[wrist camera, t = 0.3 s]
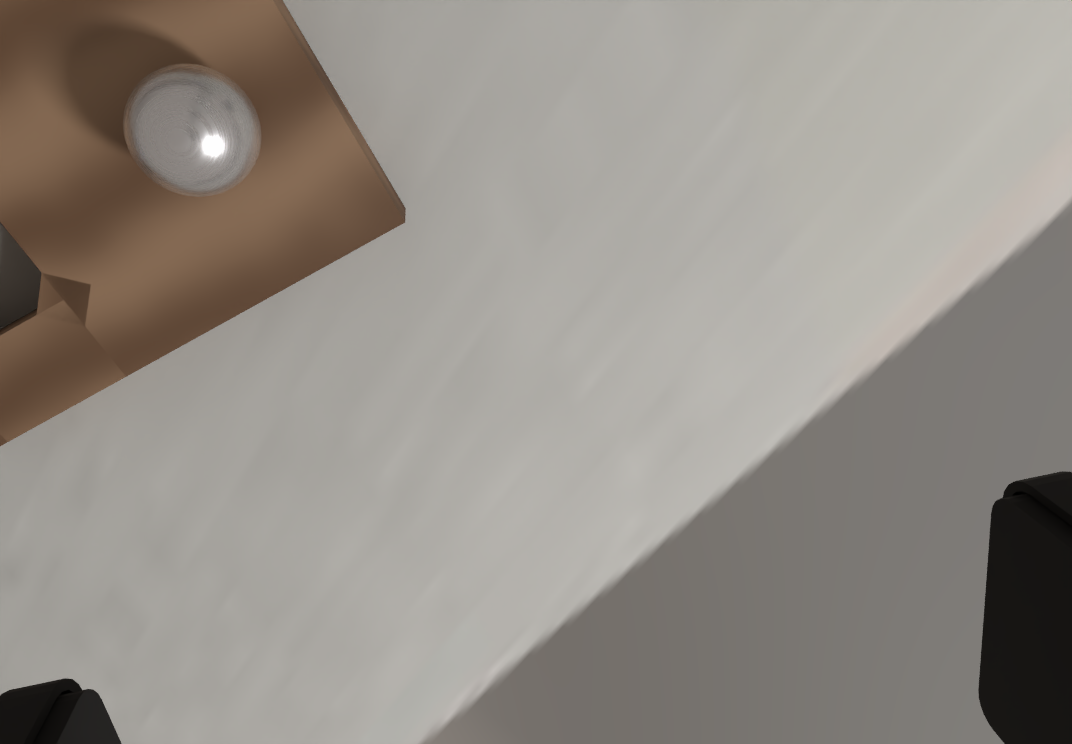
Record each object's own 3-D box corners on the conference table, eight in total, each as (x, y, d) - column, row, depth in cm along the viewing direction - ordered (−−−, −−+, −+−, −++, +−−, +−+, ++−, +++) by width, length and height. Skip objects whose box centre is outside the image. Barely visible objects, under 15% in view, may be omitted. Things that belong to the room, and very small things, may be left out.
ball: (118, 98, 35) (73, 110, 30) (223, 37, 34) (194, 40, 30) (193, 205, 37) (162, 232, 32) (293, 148, 36) (276, 167, 32)
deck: (-262, 173, 37) (-316, 185, 34) (217, -111, 35) (200, -122, 32) (-13, 440, 43) (-43, 469, 40) (405, 208, 41) (405, 222, 38)
